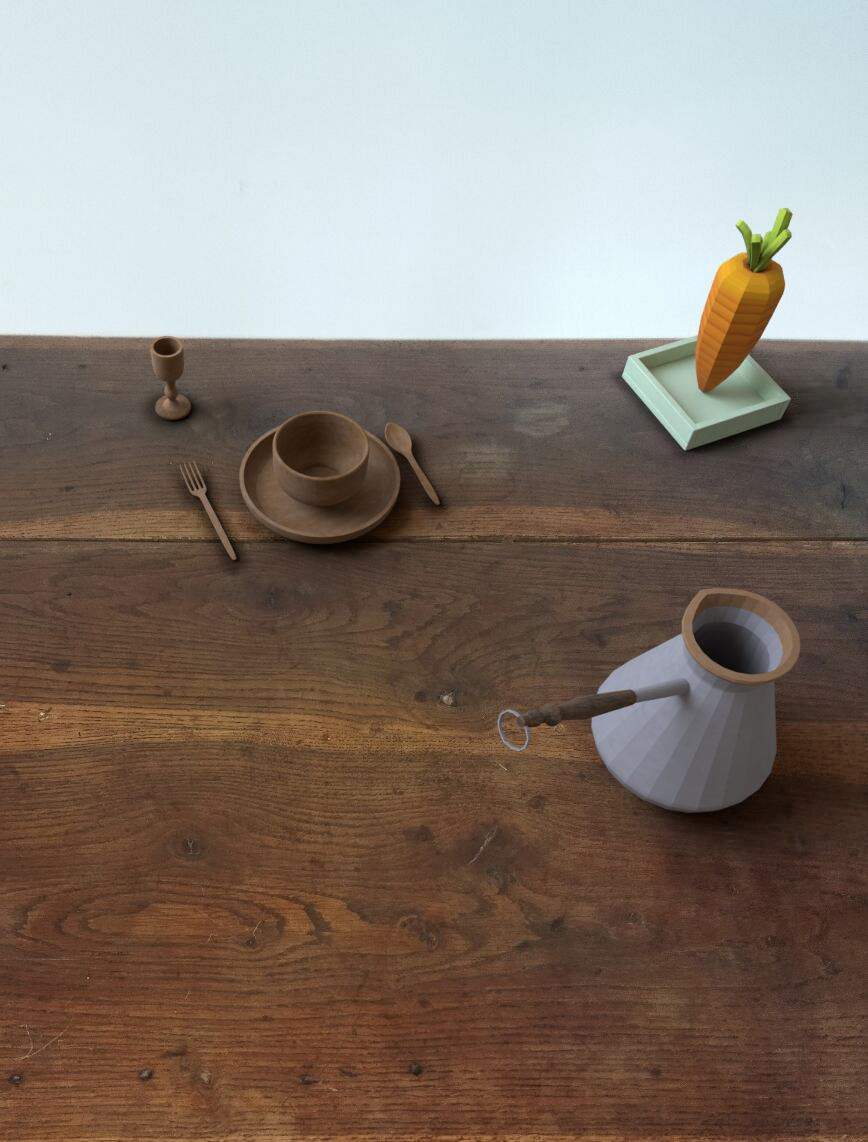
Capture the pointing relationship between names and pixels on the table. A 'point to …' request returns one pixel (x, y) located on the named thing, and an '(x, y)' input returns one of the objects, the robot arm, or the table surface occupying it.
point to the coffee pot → (692, 705)
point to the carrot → (740, 303)
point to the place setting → (303, 468)
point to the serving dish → (702, 395)
